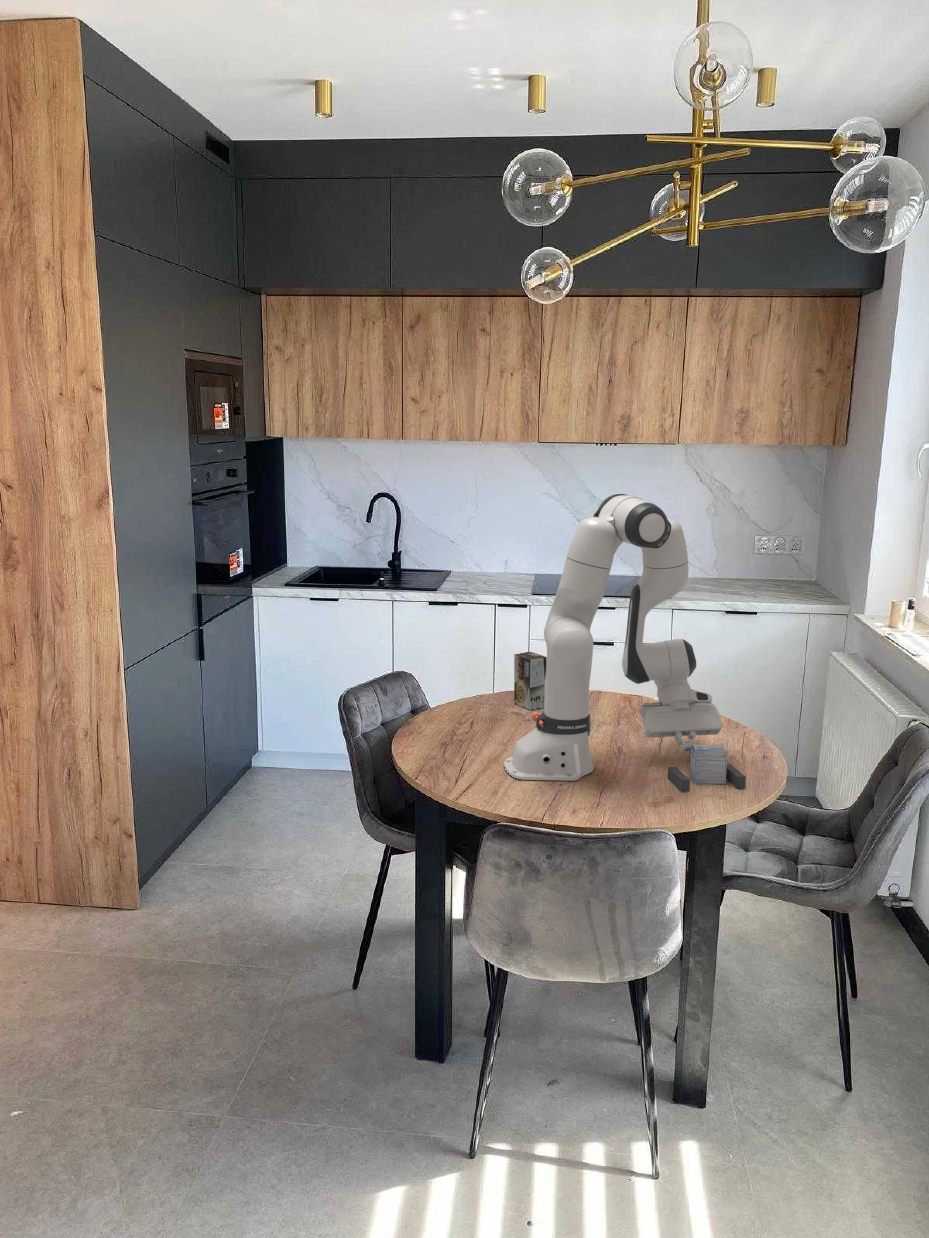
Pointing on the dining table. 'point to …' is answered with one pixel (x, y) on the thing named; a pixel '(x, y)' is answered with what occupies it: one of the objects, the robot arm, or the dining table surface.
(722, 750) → the medicine box
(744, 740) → the dining table surface
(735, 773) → the grey blocks
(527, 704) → the coffee box
